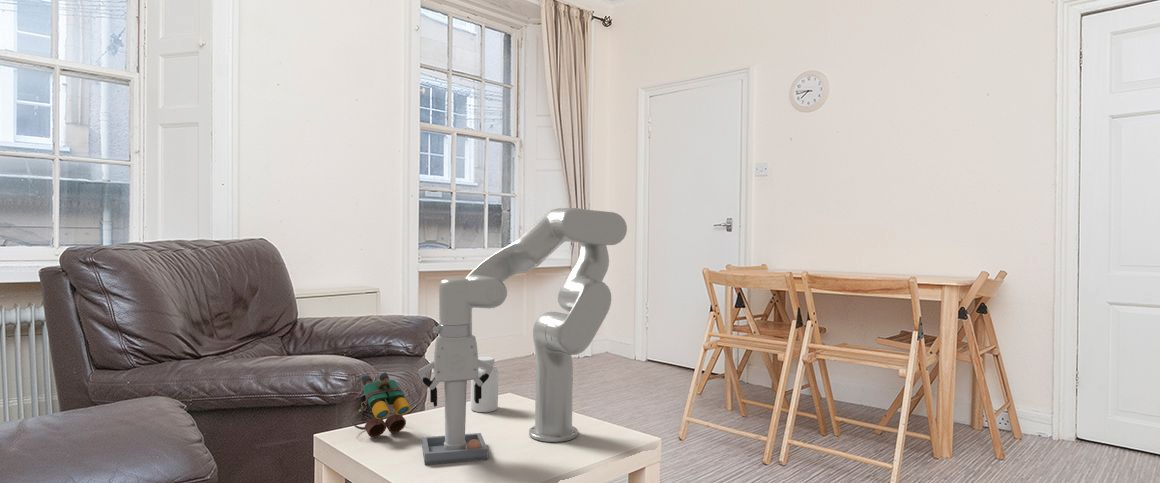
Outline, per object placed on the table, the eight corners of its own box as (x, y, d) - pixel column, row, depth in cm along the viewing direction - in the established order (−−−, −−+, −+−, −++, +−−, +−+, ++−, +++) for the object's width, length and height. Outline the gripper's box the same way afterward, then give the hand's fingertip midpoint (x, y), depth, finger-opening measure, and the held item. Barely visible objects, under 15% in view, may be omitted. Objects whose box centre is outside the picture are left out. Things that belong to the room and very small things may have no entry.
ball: (466, 451, 152) (466, 437, 152) (479, 450, 153) (479, 436, 153) (467, 456, 149) (467, 442, 149) (481, 454, 150) (481, 441, 150)
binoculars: (356, 452, 163) (370, 407, 156) (338, 413, 171) (350, 369, 165) (408, 440, 172) (423, 398, 166) (388, 404, 181) (401, 362, 175)
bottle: (441, 448, 154) (442, 342, 154) (462, 445, 156) (463, 341, 156) (446, 455, 150) (447, 346, 149) (468, 452, 152) (469, 345, 151)
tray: (422, 447, 157) (422, 437, 157) (480, 443, 161) (480, 432, 161) (424, 465, 145) (424, 453, 145) (487, 459, 149) (487, 448, 149)
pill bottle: (492, 413, 186) (493, 361, 186) (466, 411, 188) (466, 360, 188) (501, 406, 194) (502, 356, 194) (476, 404, 196) (476, 355, 195)
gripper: (418, 335, 147) (418, 410, 147) (494, 331, 151) (495, 405, 152) (417, 330, 154) (417, 402, 154) (490, 327, 159) (490, 396, 159)
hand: (456, 403), depth 153 cm, fingers open, 9 cm apart
